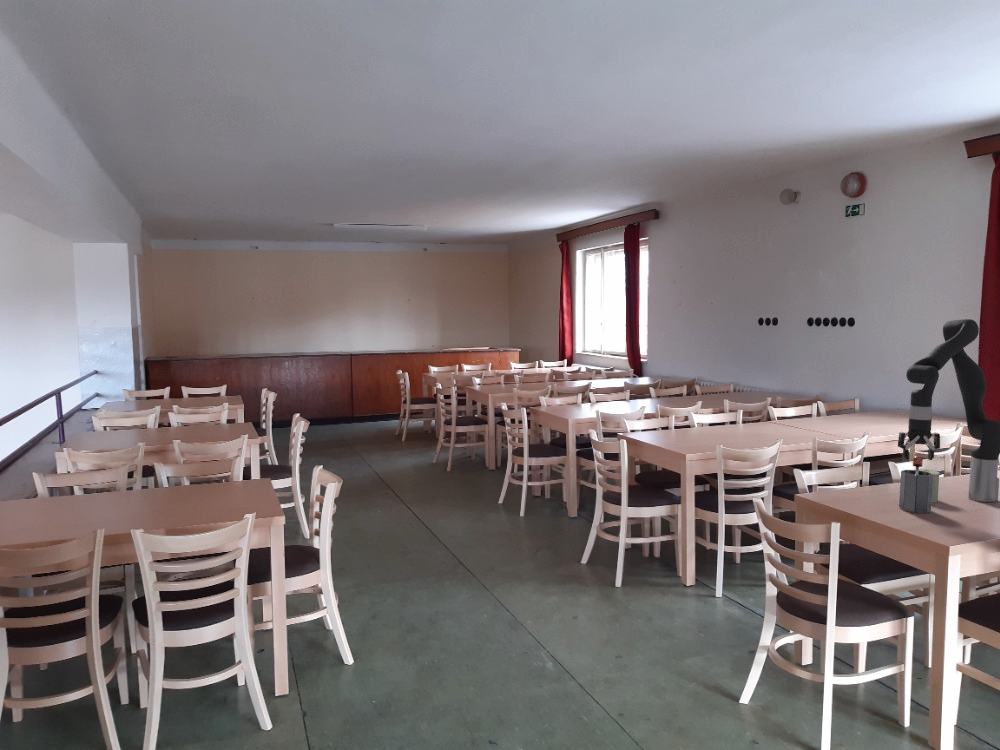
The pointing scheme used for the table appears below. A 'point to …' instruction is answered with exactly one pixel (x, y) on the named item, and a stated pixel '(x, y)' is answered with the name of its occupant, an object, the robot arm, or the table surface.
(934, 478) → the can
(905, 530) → the table surface
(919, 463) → the plunger
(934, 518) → the table surface
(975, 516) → the table surface
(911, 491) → the grey faceted pot
